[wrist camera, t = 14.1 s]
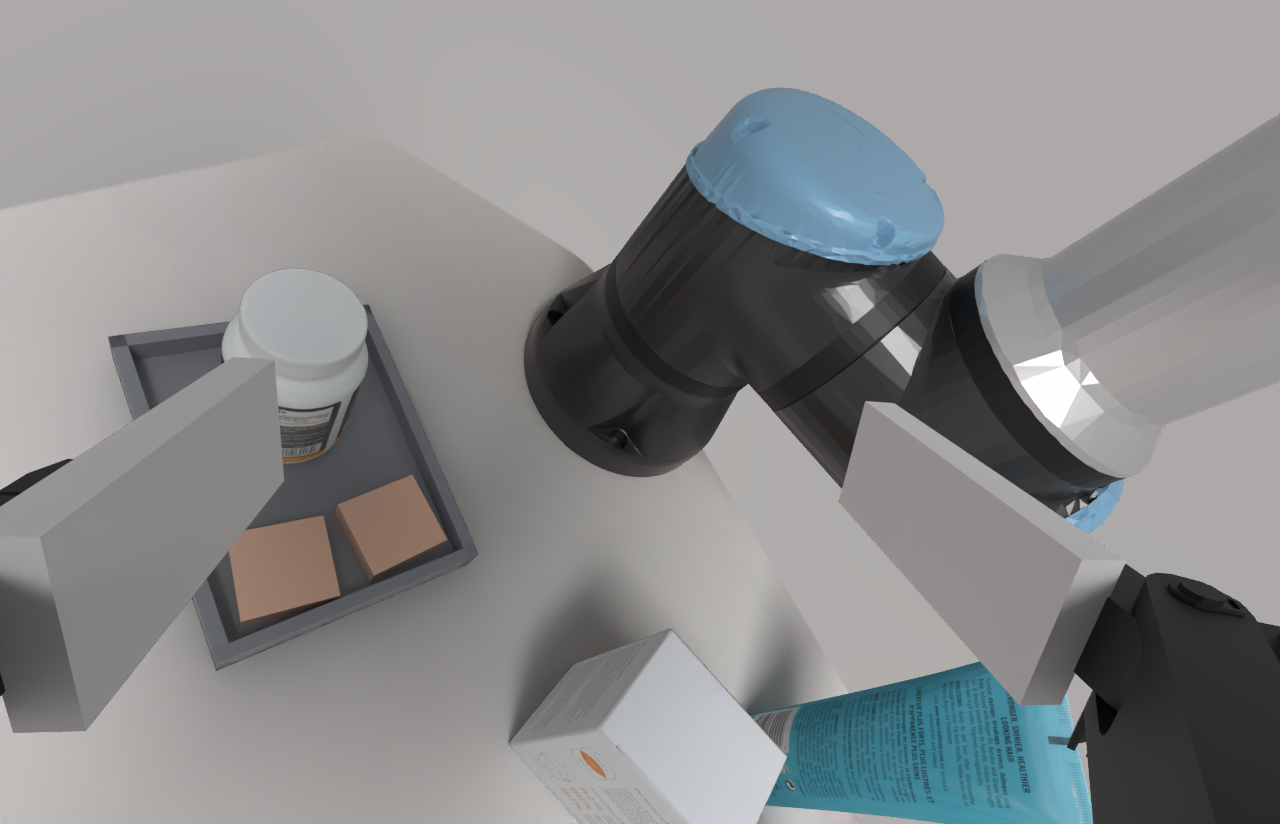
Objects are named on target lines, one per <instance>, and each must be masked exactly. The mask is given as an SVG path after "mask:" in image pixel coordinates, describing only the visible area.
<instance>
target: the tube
mask: <svg viewBox="0 0 1280 824" xmlns="http://www.w3.org/2000/svg"><path fill="white" fill-rule="evenodd" d="M750 716H751V717H752V718H753V719H754V720H755V721H756V722H757V723H758V725H759V726H760V727H761V728H762V729H763V730H764V731H765V732H766V733H767V734H768V736H769V737H770V738H771V739H772V740H773V741H774V742H775V743H776V744H777V746H778V747H779V748H780V749H781V750H782V751H783V752H784V753H785V754H786V755H787V758H786V761H785V762H784V765H783V767H782V770H781V772H780V774H779V776H778V778H777V781H776V783H775V785H774V787H773V789H772V791H771V794H770V796H769V798H768V800H767V802H766V804H765V805H768V806H781V807H793V808H806V809H818V810H829V811H840V812H851V813H860V814H870V815H880V816H890V817H898V818H906V819H915V820H922V821H930V822H937V823H945V824H1093V816H1092V805H1091V801H1090V796H1089V792H1088V789H1087V784H1086V779H1085V775H1084V772H1083V768H1082V764H1081V759H1080V754H1079V749H1078V746H1077V747H1076V749H1075V751H1073V750H1071V749H1069V748H1067V745H1068V742H1069V739H1070V737H1071V735H1072V733H1073V731H1074V726H1073V722H1072V716H1071V713H1070V708H1069V701H1068V697H1067V693H1066V694H1065V696H1064V698H1063V701H1062V703H1061V705H1027V706H1019V704H1018V703H1017V702H1016V701H1015V700H1014V699H1013V698H1012V697H1011V695H1010V694H1009V693H1008V692H1007V691H1006V690H1005V689H1004V688H1003V686H1002V685H1001V684H1000V683H999V682H998V681H997V680H996V679H995V677H994V676H993V675H992V674H991V673H990V672H989V671H988V669H987V668H986V667H985V666H984V665H983V664H982V663H981V662H976V663H973V664H969V665H965V666H962V667H958V668H955V669H951V670H947V671H943V672H939V673H935V674H931V675H927V676H923V677H919V678H915V679H911V680H906V681H902V682H898V683H893V684H889V685H885V686H881V687H876V688H872V689H867V690H863V691H859V692H854V693H849V694H845V695H840V696H836V697H831V698H827V699H822V700H818V701H813V702H808V703H804V704H799V705H794V706H790V707H785V708H780V709H776V710H771V711H766V712H762V713H757V714H753V715H750Z"/></svg>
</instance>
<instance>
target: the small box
mask: <svg viewBox="0 0 1280 824" xmlns="http://www.w3.org/2000/svg"><path fill="white" fill-rule="evenodd" d="M509 745H510V747H511V748H512V749H513V750H514V751H515V752H516V753H517V754H518V755H519V756H520V758H521V759H522V760H523V761H524V762H525V763H526V764H527V765H528V766H529V767H530V769H531V770H532V771H533V772H534V773H535V774H536V775H537V776H538V777H539V778H540V780H541V781H542V782H543V783H544V784H545V785H546V786H547V787H548V788H549V790H550V791H551V792H552V793H553V794H554V795H555V796H556V797H557V798H558V799H559V800H560V802H561V803H562V804H563V805H564V806H565V807H566V808H567V809H568V811H569V812H570V813H571V814H572V815H573V816H574V817H575V818H576V819H577V820H578V822H579V823H580V824H757V822H758V820H759V817H760V815H761V813H762V811H763V809H764V806H765V804H766V802H767V800H768V798H769V796H770V794H771V791H772V789H773V787H774V785H775V783H776V781H777V778H778V776H779V774H780V772H781V770H782V767H783V765H784V762H785V761H786V758H787V755H786V754H785V753H784V752H783V751H782V750H781V749H780V748H779V747H778V746H777V744H776V743H775V742H774V741H773V740H772V739H771V738H770V737H769V736H768V734H767V733H766V732H765V731H764V730H763V729H762V728H761V727H760V726H759V725H758V723H757V722H756V721H755V720H754V719H753V718H752V717H751V716H750V715H749V714H748V713H747V711H746V710H745V709H744V708H743V707H742V706H741V705H740V704H739V703H738V702H737V701H736V699H735V698H734V697H733V696H732V695H731V694H730V693H729V692H728V691H727V689H726V688H725V687H724V686H723V685H722V684H721V683H720V682H719V681H718V680H717V678H716V677H715V676H714V675H713V674H712V673H711V672H710V671H709V670H708V669H707V667H706V666H705V665H704V664H703V663H702V662H701V661H700V660H699V659H698V658H697V656H696V655H695V654H694V653H693V652H692V651H691V650H690V649H689V647H688V646H687V645H686V644H685V643H684V642H683V641H682V640H681V639H680V638H679V636H678V635H677V634H676V633H675V632H674V631H673V629H667V630H665V631H662V632H659V633H656V634H654V635H651V636H648V637H646V638H643V639H640V640H638V641H635V642H632V643H630V644H627V645H624V646H621V647H618V648H616V649H613V650H610V651H608V652H605V653H602V654H600V655H597V656H594V657H591V658H589V659H586V660H583V661H581V662H578V663H576V664H574V665H573V666H572V667H571V668H570V669H569V671H568V672H567V673H566V674H565V675H564V676H563V678H562V679H561V680H560V681H559V682H558V684H557V685H556V686H555V687H554V688H553V690H552V691H551V692H550V693H549V695H548V696H547V697H546V698H545V699H544V701H543V702H542V703H541V704H540V706H539V707H538V708H537V709H536V710H535V712H534V713H533V714H532V715H531V717H530V718H529V719H528V720H527V721H526V723H525V724H524V725H523V726H522V728H521V729H520V730H519V731H518V733H517V734H516V735H515V736H514V738H513V739H512V740H511V741H510V743H509Z"/></svg>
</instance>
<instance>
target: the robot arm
mask: <svg viewBox="0 0 1280 824" xmlns="http://www.w3.org/2000/svg"><path fill="white" fill-rule="evenodd" d="M925 182H926V177H925V175H924V173H923V172H922V171H921V170H920V169H919V168H918V167H917V165H916V164H915V163H914V162H913V160H912V159H911V158H910V157H909V156H908V155H907V154H906V153H905V152H904V151H903V150H902V149H901V148H900V147H899V146H897V145H896V144H895V143H894V142H893V141H892V140H891V139H890V138H888V137H887V136H886V135H885V134H883V133H882V132H881V131H880V130H878V129H877V128H876V127H874V126H873V125H872V124H870V123H869V122H867V121H866V120H864V119H863V118H861V117H860V116H858V115H856V114H855V113H853V112H852V111H850V110H848V109H846V108H844V107H842V106H841V105H839V104H837V103H835V102H833V101H830V100H828V99H825V98H822V97H821V96H818V95H815V94H812V93H809V92H806V91H801V90H798V89H791V88H770V89H764V90H760V91H757V92H755V93H752V94H750V95H748V96H746V97H745V98H743V99H742V100H740V101H739V102H738V103H737V104H736V105H735V106H734V107H733V108H732V109H731V110H730V111H729V112H728V114H727V115H726V116H725V117H724V118H723V120H722V121H721V122H720V123H719V124H718V125H717V126H716V128H715V129H714V130H713V131H712V132H711V133H710V135H709V136H708V137H707V138H706V139H705V140H704V141H702V142H700V143H699V144H697V145H696V146H695V147H694V148H693V150H692V151H691V153H690V155H689V156H688V158H687V161H686V164H685V165H684V167H683V168H682V169H681V171H680V172H679V174H678V175H677V176H676V177H675V179H674V180H673V181H672V183H671V184H670V185H669V187H668V188H667V189H666V191H665V192H664V194H663V195H662V196H661V197H660V199H659V200H658V201H657V203H656V204H655V205H654V207H653V208H652V210H651V211H650V212H649V214H648V215H647V216H646V218H645V219H644V220H643V222H642V223H641V224H640V226H639V227H638V228H637V230H636V231H635V232H634V234H633V235H632V236H631V238H630V239H629V240H628V242H627V243H626V244H625V246H624V247H623V249H622V250H621V251H620V253H619V254H618V255H617V256H616V258H615V259H614V260H613V262H612V263H611V264H609V265H607V266H605V267H604V268H602V269H600V270H598V271H596V272H594V273H593V274H591V275H589V276H587V277H586V278H584V279H582V280H580V281H578V282H577V283H575V284H573V285H571V286H570V287H568V288H566V289H564V290H563V291H562V292H560V293H559V294H558V295H557V296H556V297H555V298H553V299H552V300H551V301H550V303H549V304H548V305H547V306H546V308H545V309H544V311H543V312H542V314H541V315H540V316H539V318H538V319H537V321H536V322H535V324H534V325H533V327H532V329H531V331H530V334H529V337H528V340H527V344H526V350H525V370H526V376H527V381H528V385H529V388H530V391H531V394H532V397H533V399H534V401H535V403H536V405H537V407H538V409H539V411H540V413H541V414H542V416H543V418H544V419H545V421H546V422H547V423H548V425H549V426H550V427H551V429H552V430H553V431H554V432H555V433H556V435H557V436H558V437H559V438H560V439H561V440H562V441H563V442H564V443H565V444H566V445H567V446H569V447H570V448H571V449H572V450H573V451H575V452H576V453H577V454H579V455H580V456H582V457H583V458H585V459H586V460H588V461H590V462H591V463H593V464H595V465H597V466H599V467H601V468H604V469H606V470H608V471H611V472H615V473H618V474H622V475H627V476H636V477H648V476H656V475H660V474H664V473H667V472H669V471H671V470H674V469H675V468H677V467H679V466H680V465H682V464H683V463H685V462H686V461H687V460H689V459H690V458H692V457H693V456H695V455H696V454H697V453H698V452H699V451H701V450H702V449H703V448H704V446H705V445H706V444H707V443H708V442H709V441H710V439H711V438H712V436H713V434H714V433H715V431H716V429H717V428H718V426H719V424H720V422H721V421H722V419H723V417H724V415H725V413H726V412H727V410H728V408H729V406H730V405H731V403H732V401H733V399H734V398H735V396H736V394H737V392H738V391H739V390H741V389H742V388H743V387H744V386H746V385H747V384H748V383H749V385H750V386H751V387H752V388H753V389H754V390H755V391H756V392H757V393H758V394H759V396H761V398H762V399H763V400H764V401H765V402H766V403H767V404H768V406H769V407H770V408H771V409H772V410H773V412H774V413H775V414H776V415H777V416H778V417H779V418H780V420H781V421H782V422H783V423H784V424H785V425H786V426H787V427H788V429H789V430H790V431H791V432H792V433H793V434H794V435H795V436H796V438H798V440H799V441H800V442H801V443H802V444H803V446H804V447H805V448H806V449H807V450H808V451H809V452H810V453H811V455H812V456H813V457H814V458H815V459H816V460H817V461H818V462H819V464H820V465H821V466H822V467H823V468H824V469H825V470H826V472H827V473H828V474H829V475H830V476H831V477H832V478H833V479H834V481H835V482H836V483H837V484H838V485H839V486H840V487H841V488H842V491H841V496H840V499H839V502H840V504H841V505H842V506H843V507H844V508H845V509H846V510H847V512H849V514H850V515H851V516H852V517H853V518H854V519H855V521H856V522H857V523H858V524H859V525H860V526H861V527H862V528H863V530H864V531H865V532H866V533H867V534H868V535H869V536H870V537H871V539H872V540H873V541H874V542H875V543H876V544H877V545H878V546H879V548H880V549H881V550H882V551H883V552H884V553H885V554H886V555H887V556H888V558H889V559H890V560H891V561H892V562H893V563H894V564H895V566H896V567H897V568H898V569H899V570H900V571H901V572H902V573H903V575H904V576H905V577H906V578H907V579H908V580H909V581H910V582H911V584H912V585H913V586H914V587H915V588H916V589H917V590H918V592H919V593H920V594H921V595H922V596H923V597H924V598H925V600H926V601H927V602H928V603H929V604H930V605H931V606H932V607H933V609H934V610H935V611H936V612H937V613H938V614H939V615H940V616H941V618H942V619H943V620H944V621H945V622H946V623H947V624H948V625H949V626H950V628H951V629H952V630H953V631H954V632H955V633H956V634H957V636H958V637H959V638H960V639H961V640H962V641H963V642H964V644H965V645H966V646H967V647H968V648H969V649H970V650H971V651H972V653H973V654H974V655H975V656H976V657H977V658H978V659H979V660H980V662H981V663H982V664H983V665H984V666H985V667H986V668H987V669H988V671H989V672H990V673H991V674H992V675H993V676H994V677H995V679H996V680H997V681H998V682H999V683H1000V684H1001V685H1002V686H1003V688H1004V689H1005V690H1006V691H1007V692H1008V693H1009V694H1010V695H1011V697H1012V698H1013V699H1014V700H1015V701H1016V702H1017V703H1018V704H1019V706H1027V705H1061V703H1062V701H1063V698H1064V696H1065V694H1066V692H1067V690H1068V687H1069V685H1070V683H1071V681H1072V679H1073V677H1074V674H1075V673H1076V674H1077V675H1078V676H1079V677H1080V678H1081V679H1082V680H1083V681H1084V682H1085V683H1086V684H1087V685H1088V686H1089V687H1090V688H1092V690H1093V691H1092V693H1091V695H1090V697H1089V699H1088V701H1087V703H1086V706H1085V708H1084V710H1083V712H1082V714H1081V716H1080V718H1079V720H1078V722H1077V724H1076V727H1075V729H1074V731H1073V733H1072V735H1071V737H1070V739H1069V742H1068V745H1067V748H1069V749H1071V750H1073V751H1075V749H1076V747H1077V745H1078V743H1082V742H1086V744H1087V755H1086V757H1088V768H1089V780H1090V791H1091V804H1092V816H1093V824H1280V627H1279V626H1274V625H1269V624H1264V623H1259V622H1257V621H1256V619H1255V617H1254V616H1253V615H1252V614H1251V613H1250V612H1249V611H1248V609H1247V608H1246V607H1244V606H1243V605H1242V604H1241V603H1240V602H1239V601H1237V600H1235V599H1233V598H1231V597H1230V596H1228V595H1226V594H1224V593H1222V592H1220V591H1219V590H1217V589H1216V588H1214V587H1212V586H1210V585H1207V584H1205V583H1203V582H1200V581H1196V580H1192V579H1188V578H1185V577H1180V576H1177V575H1173V574H1164V573H1154V574H1150V575H1147V577H1144V576H1143V575H1141V574H1139V573H1138V572H1137V571H1135V570H1134V569H1132V568H1131V567H1130V566H1128V565H1127V564H1125V563H1126V560H1125V559H1123V558H1122V557H1120V556H1119V555H1117V554H1116V553H1114V552H1113V551H1111V550H1110V549H1109V548H1107V547H1105V546H1104V545H1103V544H1101V543H1100V542H1098V541H1097V540H1095V539H1094V538H1092V537H1091V536H1089V534H1090V533H1091V532H1093V531H1094V530H1095V529H1096V528H1097V527H1098V526H1100V525H1101V524H1102V523H1103V522H1104V520H1105V519H1106V518H1107V517H1108V516H1109V515H1110V513H1111V512H1112V510H1113V508H1114V507H1115V506H1116V504H1117V503H1118V501H1119V499H1120V496H1121V493H1122V489H1123V479H1124V478H1128V477H1131V476H1133V475H1135V474H1138V473H1140V472H1142V471H1143V470H1144V469H1145V468H1146V467H1147V466H1148V464H1149V461H1150V459H1151V457H1152V454H1153V452H1154V449H1155V447H1156V444H1157V441H1158V439H1159V436H1160V434H1161V431H1162V430H1163V428H1164V427H1165V426H1166V425H1167V424H1169V423H1171V422H1174V421H1177V420H1179V419H1182V418H1185V417H1187V416H1190V415H1193V414H1195V413H1198V412H1201V411H1203V410H1206V409H1209V408H1211V407H1214V406H1217V405H1220V404H1222V403H1225V402H1228V401H1230V400H1233V399H1236V398H1238V397H1241V396H1244V395H1246V394H1249V393H1252V392H1254V391H1257V390H1259V389H1262V388H1265V387H1268V386H1270V385H1273V384H1276V383H1278V382H1280V114H1278V115H1277V116H1275V117H1274V118H1272V119H1270V120H1269V121H1267V122H1266V123H1264V124H1263V125H1261V126H1259V127H1258V128H1256V129H1255V130H1253V131H1252V132H1250V133H1248V134H1247V135H1245V136H1243V137H1242V138H1240V139H1239V140H1237V141H1235V142H1234V143H1232V144H1231V145H1229V146H1228V147H1226V148H1224V149H1223V150H1221V151H1220V152H1218V153H1217V154H1215V155H1214V156H1212V157H1210V158H1209V159H1207V160H1205V161H1204V162H1202V163H1201V164H1199V165H1197V166H1196V167H1194V168H1193V169H1191V170H1189V171H1188V172H1186V173H1185V174H1183V175H1181V176H1180V177H1178V178H1177V179H1175V180H1173V181H1172V182H1170V183H1169V184H1167V185H1165V186H1164V187H1162V188H1161V189H1159V190H1158V191H1156V192H1154V193H1153V194H1152V195H1150V196H1148V197H1147V198H1145V199H1143V200H1142V201H1140V202H1139V203H1137V204H1135V205H1134V206H1132V207H1131V208H1129V209H1127V210H1126V211H1124V212H1123V213H1121V214H1120V215H1118V216H1116V217H1115V218H1113V219H1111V220H1110V221H1108V222H1107V223H1105V224H1104V225H1102V226H1100V227H1099V228H1097V229H1096V230H1094V231H1092V232H1091V233H1089V234H1088V235H1086V236H1085V237H1083V238H1081V239H1080V240H1078V241H1077V242H1075V243H1073V244H1072V245H1070V246H1068V247H1067V248H1065V249H1064V250H1062V251H1061V252H1059V253H1058V254H1056V255H1054V256H1053V257H1051V258H1043V259H1039V258H1031V257H1024V256H1016V255H1007V254H999V255H996V256H994V257H992V258H990V259H988V260H986V261H985V262H984V263H982V264H981V265H979V266H978V267H976V268H975V269H973V270H972V271H970V272H969V273H967V274H966V275H965V276H963V277H960V278H957V279H956V278H955V276H954V275H953V274H952V273H951V272H950V271H949V270H948V269H947V268H946V267H945V266H944V265H943V264H942V263H941V262H940V261H939V260H938V258H937V257H936V256H935V255H934V254H933V253H932V251H931V250H932V249H933V247H934V246H935V244H936V242H937V238H938V237H939V236H940V234H941V232H942V230H943V225H944V212H943V208H942V205H941V203H940V200H939V198H938V196H937V194H936V192H935V191H934V190H933V189H931V188H930V186H928V185H927V184H926V183H925ZM283 481H284V472H283V460H282V447H281V435H280V422H279V410H278V398H277V385H276V373H275V360H271V359H257V358H243V357H232V358H231V359H229V360H227V361H226V362H224V363H223V364H221V365H220V366H218V367H217V368H215V369H213V370H212V371H210V372H209V373H207V374H206V375H204V376H203V377H201V378H199V379H198V380H196V381H195V382H193V383H192V384H190V385H189V386H187V387H185V388H184V389H182V390H181V391H179V392H178V393H176V394H175V395H173V396H171V397H170V398H168V399H167V400H165V401H164V402H162V403H161V404H159V405H157V406H156V407H154V408H153V409H151V410H150V411H148V412H147V413H145V414H143V415H142V416H140V417H139V418H137V419H136V420H134V421H133V422H131V423H129V424H128V425H126V426H125V427H123V428H122V429H120V430H119V431H117V432H115V433H114V434H112V435H111V436H109V437H108V438H106V439H105V440H103V441H101V442H100V443H98V444H97V445H95V446H94V447H92V448H91V449H89V450H87V451H86V452H84V453H83V454H81V455H80V456H78V457H77V458H75V459H66V460H63V461H61V462H58V463H55V464H52V465H50V466H47V467H44V468H41V469H39V470H36V471H33V472H30V473H28V474H26V475H24V476H23V477H21V478H19V479H18V480H16V481H14V482H13V483H11V484H10V485H8V486H6V487H5V488H3V489H1V490H0V696H1V695H2V696H3V699H4V703H5V706H6V709H7V713H8V716H9V720H10V723H11V727H12V730H13V733H25V732H63V731H86V730H87V729H88V728H89V726H90V725H91V724H92V723H93V721H94V720H95V719H96V717H97V716H98V715H99V714H100V712H101V711H102V710H103V709H104V707H105V706H106V705H107V704H108V702H109V701H110V700H111V699H112V697H113V696H114V695H115V693H116V692H117V691H118V690H119V688H120V687H121V686H122V685H123V683H124V682H125V681H126V680H127V678H128V677H129V676H130V675H131V673H132V672H133V671H134V670H135V668H136V667H137V666H138V664H139V663H140V662H141V661H142V659H143V658H144V657H145V656H146V654H147V653H148V652H149V651H150V649H151V648H152V647H153V646H154V644H155V643H156V642H157V640H158V639H159V638H160V637H161V635H162V634H163V633H164V632H165V630H166V629H167V628H168V627H169V625H170V624H171V623H172V622H173V620H174V619H175V618H176V616H177V615H178V614H179V613H180V611H181V610H182V609H183V608H184V606H185V605H186V604H187V603H188V601H189V600H190V599H191V598H192V596H193V595H194V594H195V593H196V591H197V590H198V589H199V587H200V586H201V585H202V584H203V582H204V581H205V580H206V579H207V577H208V576H209V575H210V574H211V572H212V571H213V570H214V569H215V567H216V566H217V565H218V563H219V562H220V561H221V560H222V558H223V557H224V556H225V555H226V553H227V552H228V551H229V550H230V548H231V547H232V546H233V545H234V543H235V542H236V541H237V539H238V538H239V537H240V536H241V534H242V533H243V532H244V531H245V529H246V528H247V527H248V526H249V524H250V523H251V522H252V521H253V519H254V518H255V517H256V515H257V514H258V513H259V512H260V510H261V509H262V508H263V507H264V505H265V504H266V503H267V502H268V500H269V499H270V498H271V497H272V495H273V494H274V493H275V492H276V490H277V489H278V488H279V486H280V485H281V484H282V483H283Z"/></svg>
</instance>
